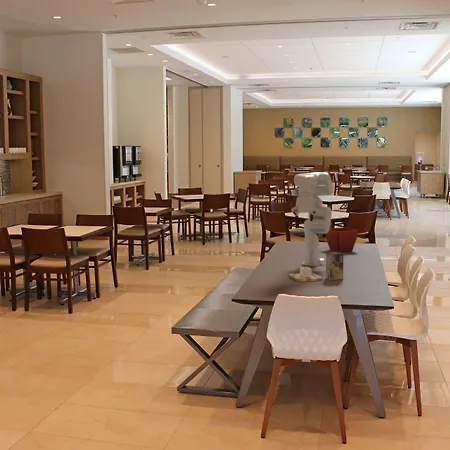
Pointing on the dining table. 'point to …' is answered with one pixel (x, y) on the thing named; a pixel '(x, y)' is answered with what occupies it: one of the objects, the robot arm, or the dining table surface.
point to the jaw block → (305, 271)
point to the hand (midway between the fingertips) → (304, 221)
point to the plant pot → (341, 239)
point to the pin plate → (302, 279)
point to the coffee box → (334, 266)
